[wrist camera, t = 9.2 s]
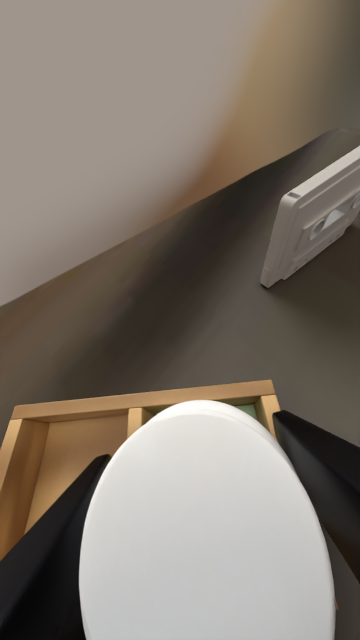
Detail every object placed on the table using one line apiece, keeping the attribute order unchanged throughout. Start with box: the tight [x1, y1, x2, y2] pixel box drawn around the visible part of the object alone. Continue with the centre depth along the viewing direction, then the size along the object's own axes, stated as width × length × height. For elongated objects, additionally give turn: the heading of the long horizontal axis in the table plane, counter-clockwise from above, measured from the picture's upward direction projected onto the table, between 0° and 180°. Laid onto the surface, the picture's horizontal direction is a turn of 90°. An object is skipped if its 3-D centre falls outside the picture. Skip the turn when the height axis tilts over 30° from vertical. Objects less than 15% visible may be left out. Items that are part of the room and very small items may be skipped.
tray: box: [0, 380, 338, 610], centre depth 11 cm, size 8×15×3 cm, turn 94°
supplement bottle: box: [79, 400, 335, 640], centre depth 8 cm, size 5×5×10 cm
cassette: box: [260, 146, 360, 288], centre depth 16 cm, size 12×2×8 cm, turn 127°
